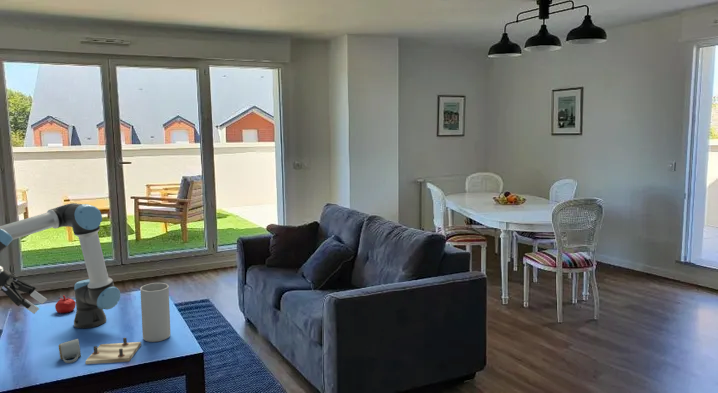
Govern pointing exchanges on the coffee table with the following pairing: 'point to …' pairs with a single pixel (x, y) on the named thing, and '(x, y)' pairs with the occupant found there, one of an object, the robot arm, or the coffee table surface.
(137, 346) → the post board
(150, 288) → the cylinder vase
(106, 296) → the robot arm
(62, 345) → the ceramic mug
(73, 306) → the red pumpkin
